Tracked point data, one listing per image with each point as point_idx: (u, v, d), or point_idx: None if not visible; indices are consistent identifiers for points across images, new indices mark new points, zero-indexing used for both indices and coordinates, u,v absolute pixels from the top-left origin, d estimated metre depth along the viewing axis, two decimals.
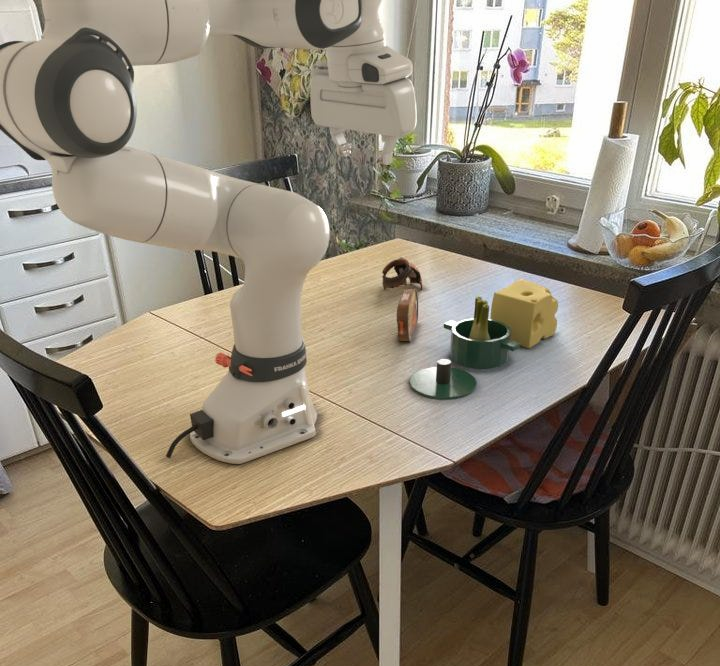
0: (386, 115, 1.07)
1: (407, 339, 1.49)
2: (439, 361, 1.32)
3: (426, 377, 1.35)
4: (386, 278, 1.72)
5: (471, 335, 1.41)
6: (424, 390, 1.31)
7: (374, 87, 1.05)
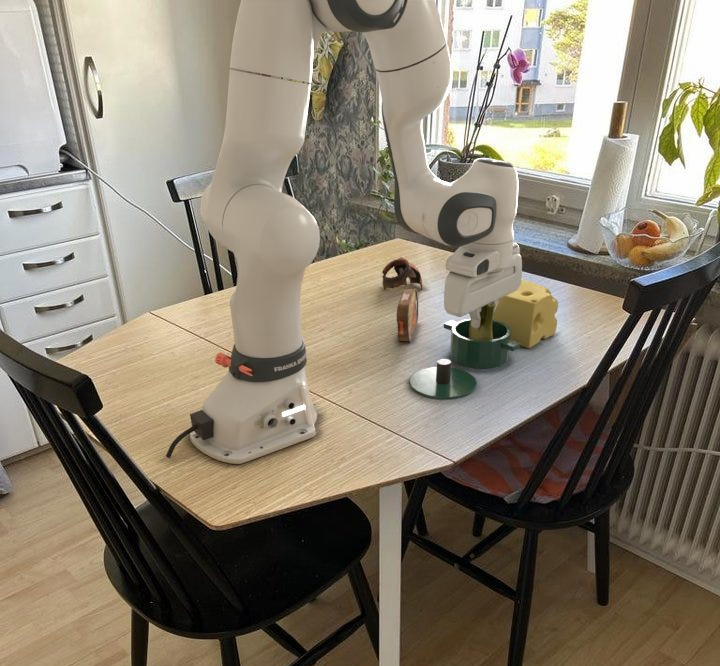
0: None
1: (407, 339, 1.49)
2: (439, 361, 1.32)
3: (426, 377, 1.35)
4: (386, 278, 1.72)
5: (474, 336, 1.40)
6: (424, 390, 1.31)
7: None
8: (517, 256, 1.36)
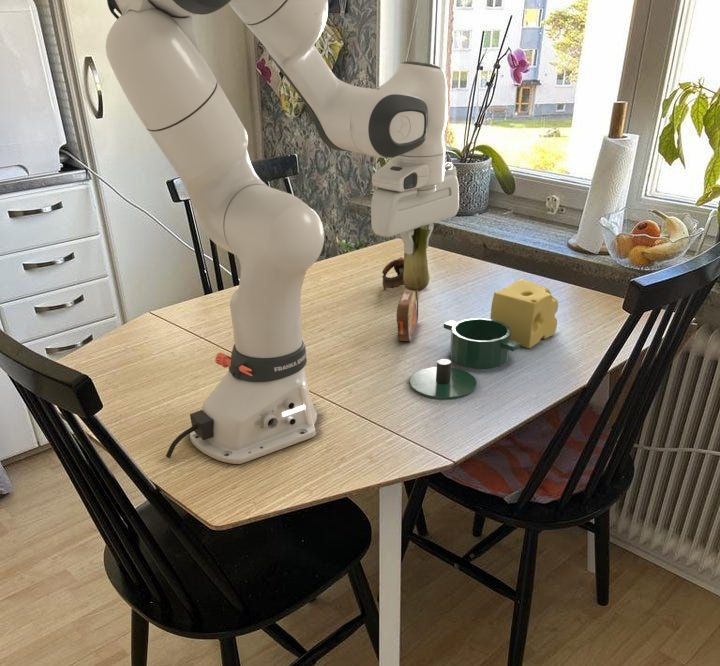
0: None
1: (407, 339, 1.49)
2: (439, 361, 1.32)
3: (426, 377, 1.35)
4: (386, 278, 1.72)
5: (408, 264, 1.31)
6: (424, 390, 1.31)
7: None
8: (452, 177, 1.27)
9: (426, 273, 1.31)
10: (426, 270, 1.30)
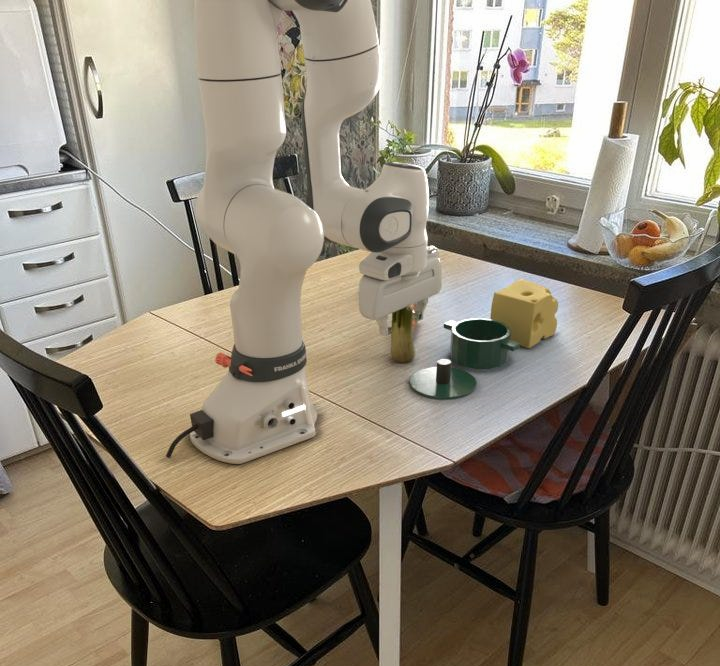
0: None
1: None
2: (439, 361, 1.32)
3: (426, 377, 1.35)
4: None
5: (395, 340, 1.40)
6: (424, 390, 1.31)
7: None
8: (435, 259, 1.36)
9: (412, 348, 1.40)
10: (412, 346, 1.39)
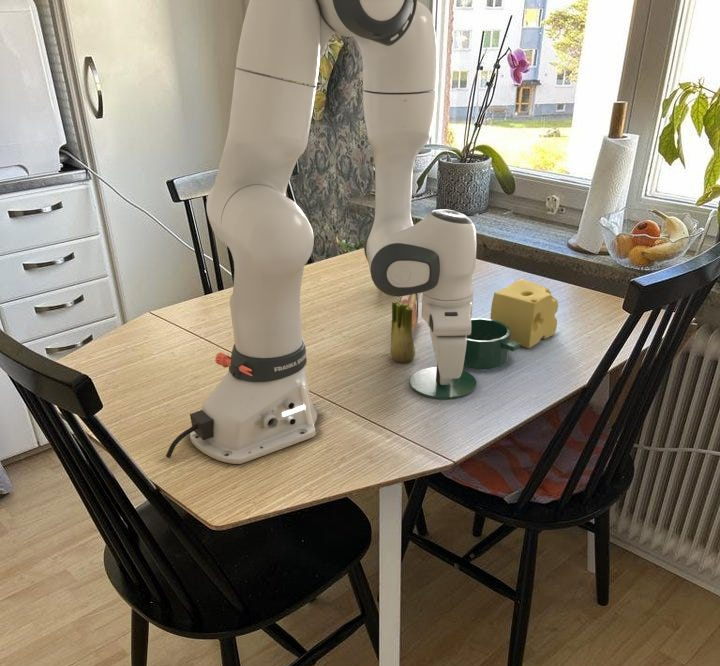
0: None
1: None
2: None
3: (426, 377, 1.35)
4: None
5: (395, 340, 1.40)
6: (424, 390, 1.31)
7: None
8: None
9: (412, 348, 1.40)
10: (412, 346, 1.39)
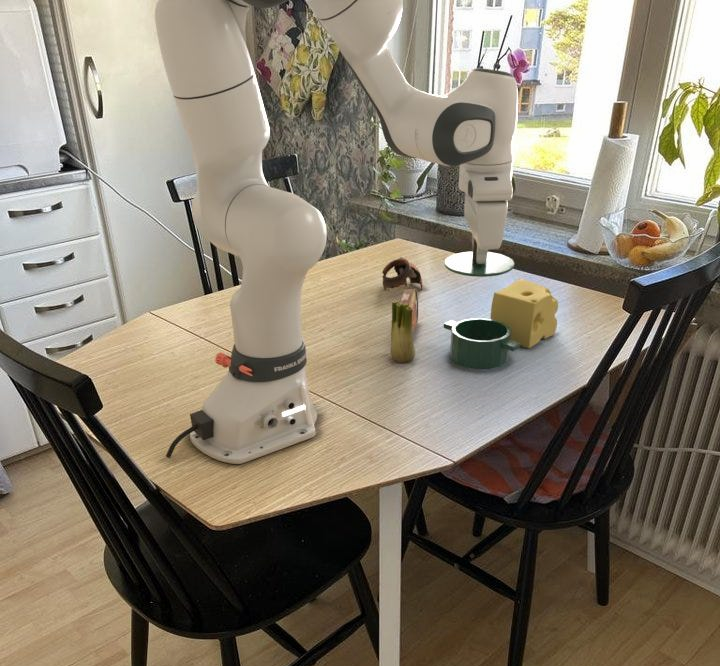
0: None
1: None
2: None
3: (461, 259, 1.31)
4: (386, 278, 1.71)
5: (395, 340, 1.40)
6: (460, 269, 1.27)
7: (473, 201, 1.18)
8: None
9: (412, 348, 1.40)
10: (412, 346, 1.39)
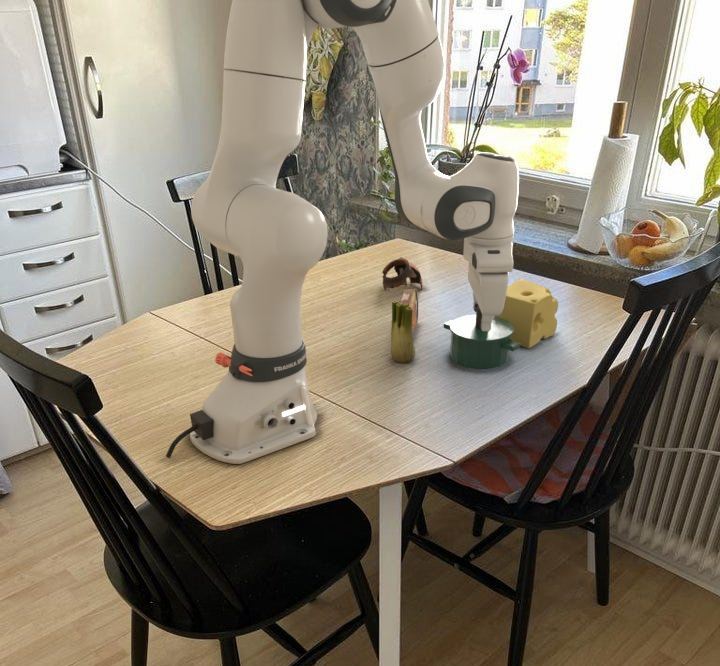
0: None
1: None
2: None
3: (465, 323, 1.41)
4: (386, 278, 1.71)
5: (395, 340, 1.40)
6: (464, 334, 1.37)
7: (477, 272, 1.27)
8: None
9: (412, 348, 1.40)
10: (412, 346, 1.39)
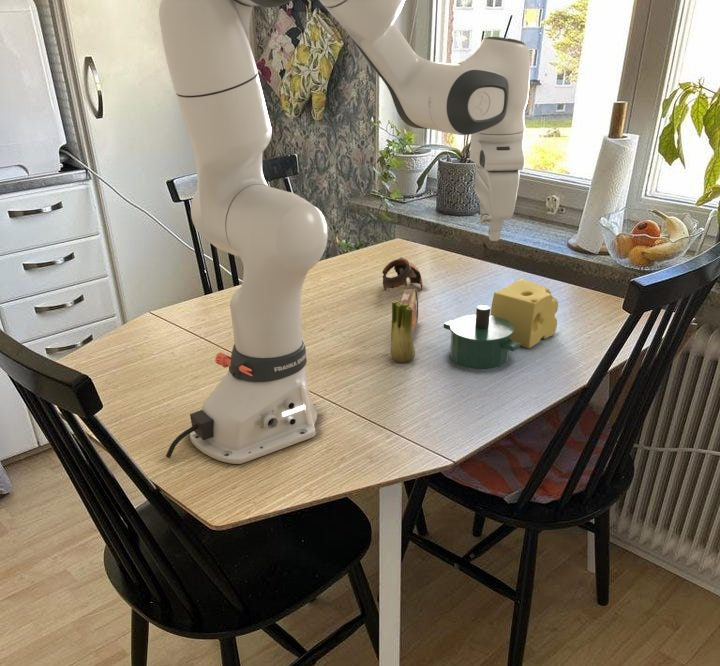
0: None
1: None
2: (479, 307, 1.38)
3: (465, 323, 1.41)
4: (386, 278, 1.71)
5: (395, 340, 1.40)
6: (464, 334, 1.37)
7: (485, 171, 1.18)
8: None
9: (412, 348, 1.40)
10: (412, 346, 1.39)
